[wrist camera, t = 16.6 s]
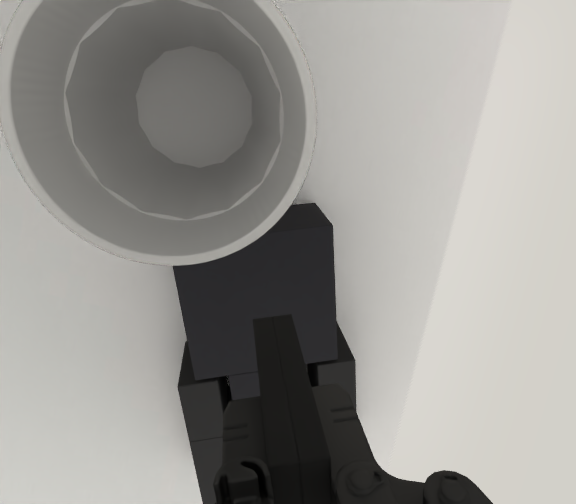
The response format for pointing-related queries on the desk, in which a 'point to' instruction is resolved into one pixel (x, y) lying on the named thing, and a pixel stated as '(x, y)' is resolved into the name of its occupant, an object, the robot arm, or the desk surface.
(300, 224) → the tab pad
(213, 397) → the notch pad
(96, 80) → the cup
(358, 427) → the robot arm
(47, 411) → the desk surface
